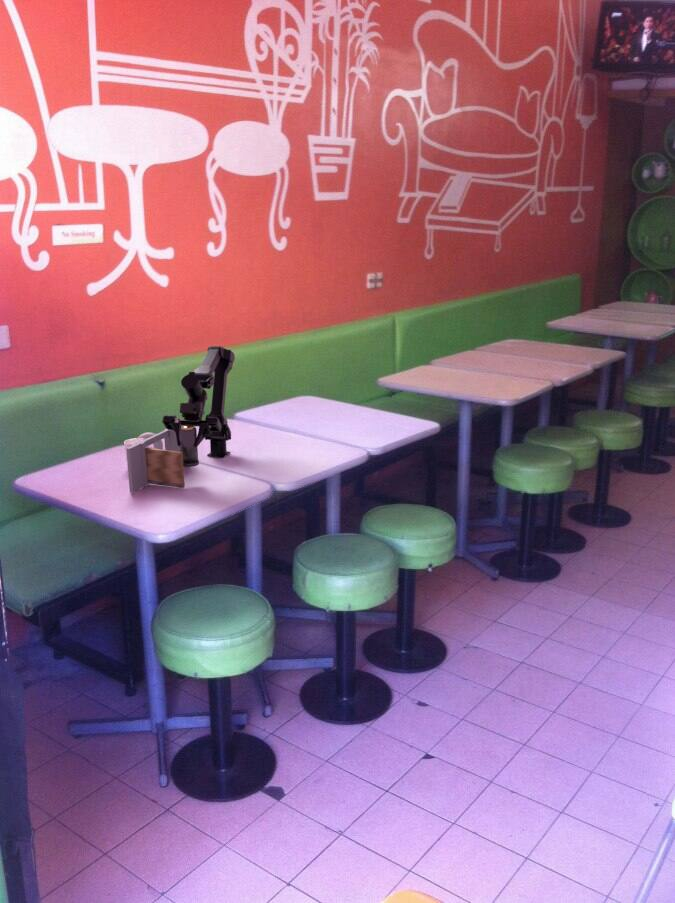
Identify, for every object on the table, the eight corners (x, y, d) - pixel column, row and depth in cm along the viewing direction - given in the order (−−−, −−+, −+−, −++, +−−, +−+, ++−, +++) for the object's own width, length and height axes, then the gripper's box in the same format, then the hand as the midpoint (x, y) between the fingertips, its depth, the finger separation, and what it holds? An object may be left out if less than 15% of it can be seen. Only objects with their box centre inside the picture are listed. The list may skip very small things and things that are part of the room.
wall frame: (182, 462, 306) (180, 421, 301) (188, 462, 305) (186, 422, 300) (128, 492, 275) (124, 448, 271) (134, 493, 274) (131, 448, 270)
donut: (135, 460, 307) (133, 434, 304) (136, 458, 310) (134, 431, 307) (163, 460, 308) (161, 433, 305) (164, 457, 311) (162, 430, 308)
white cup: (152, 469, 297) (150, 442, 295) (131, 473, 293) (128, 445, 290) (144, 463, 304) (142, 436, 301) (122, 467, 299) (120, 440, 297)
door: (145, 483, 282) (142, 448, 278) (147, 482, 283) (145, 447, 280) (182, 488, 277) (180, 452, 274) (184, 487, 278) (182, 451, 275)
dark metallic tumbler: (189, 460, 286) (186, 423, 282) (202, 463, 282) (200, 425, 279) (176, 465, 281) (174, 427, 277) (190, 468, 278) (188, 430, 274)
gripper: (162, 391, 280) (152, 433, 273) (217, 393, 277) (208, 435, 270) (172, 408, 290) (162, 449, 282) (225, 410, 287) (217, 451, 280)
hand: (187, 446), depth 278 cm, fingers closed on dark metallic tumbler, 6 cm apart
